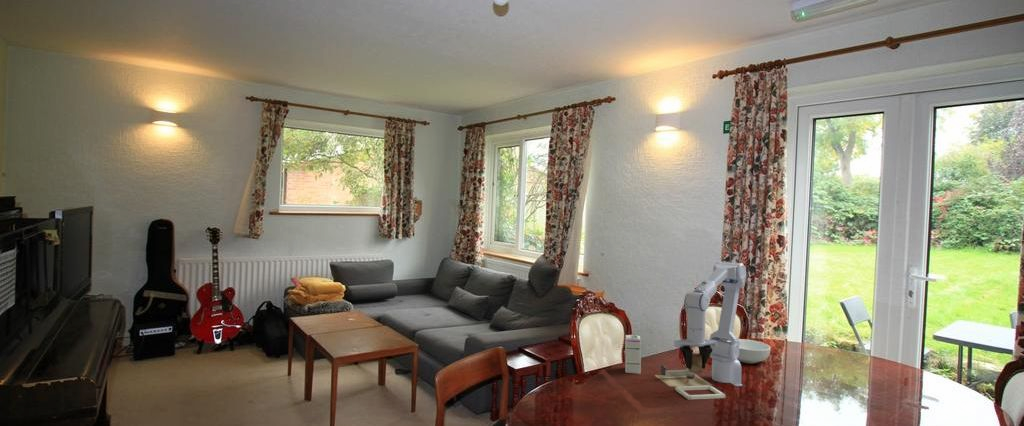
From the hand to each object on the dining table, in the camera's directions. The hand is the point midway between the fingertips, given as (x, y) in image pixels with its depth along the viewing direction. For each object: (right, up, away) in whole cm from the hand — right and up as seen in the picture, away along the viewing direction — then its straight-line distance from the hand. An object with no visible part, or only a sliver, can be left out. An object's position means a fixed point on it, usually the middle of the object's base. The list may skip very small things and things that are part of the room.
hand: (695, 368), depth 168 cm
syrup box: (-16, -9, +21) cm, 28 cm away
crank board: (0, -9, +12) cm, 15 cm away
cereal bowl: (+37, -10, +42) cm, 57 cm away
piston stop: (0, -1, 0) cm, 1 cm away
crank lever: (-1, -7, +14) cm, 15 cm away
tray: (+1, -10, -2) cm, 10 cm away
